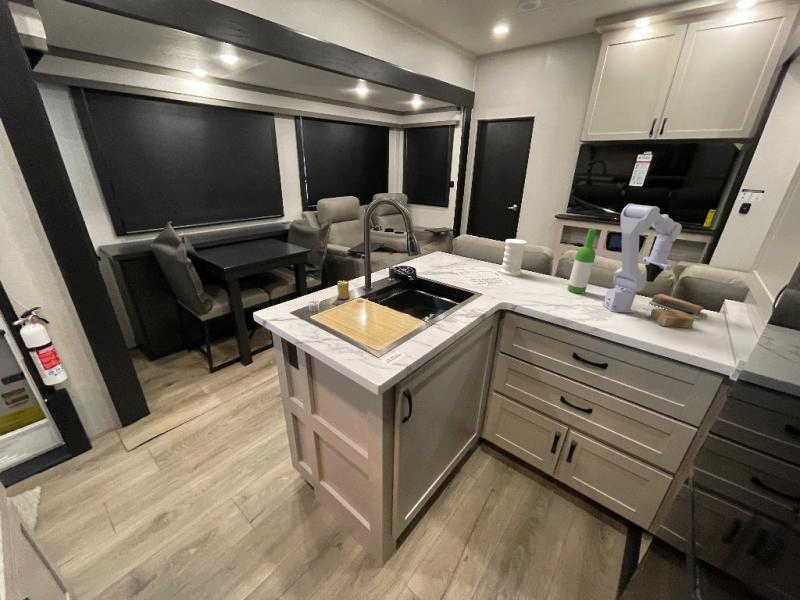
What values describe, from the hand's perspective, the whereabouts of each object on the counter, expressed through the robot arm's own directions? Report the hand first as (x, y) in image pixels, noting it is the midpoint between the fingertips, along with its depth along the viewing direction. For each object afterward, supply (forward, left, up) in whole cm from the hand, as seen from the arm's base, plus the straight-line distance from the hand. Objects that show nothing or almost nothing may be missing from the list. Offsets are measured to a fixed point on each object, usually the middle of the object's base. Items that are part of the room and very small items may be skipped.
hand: (649, 281), depth 136 cm
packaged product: (+11, -5, -11) cm, 17 cm away
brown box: (-1, -23, -8) cm, 25 cm away
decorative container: (-49, +36, -11) cm, 62 cm away
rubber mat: (-1, -19, -10) cm, 22 cm away
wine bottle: (-24, +11, -11) cm, 28 cm away
